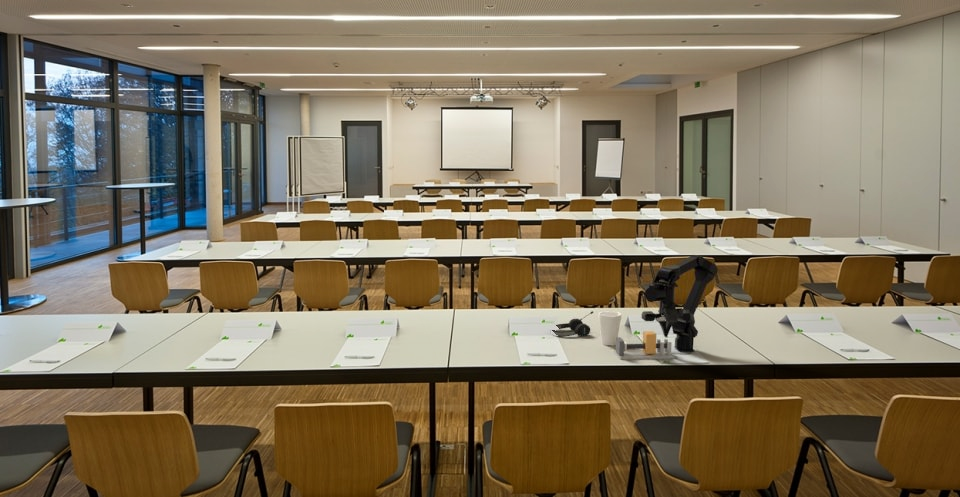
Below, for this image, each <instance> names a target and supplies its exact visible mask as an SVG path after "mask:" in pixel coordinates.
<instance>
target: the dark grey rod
mask: <svg viewBox="0 0 960 497" xmlns="http://www.w3.org/2000/svg"><path fill="white" fill-rule="evenodd" d="M667 345H668V343H664V348H667ZM656 348H660V343H657V342H656ZM642 349H645V344H643V343H627V342H626V341H624V351H627V350H642Z"/></svg>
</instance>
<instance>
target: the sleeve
mask: <svg viewBox="0 0 960 497" xmlns="http://www.w3.org/2000/svg"><path fill="white" fill-rule="evenodd" d="M656 343H657V333H656V332H655V331H653V330H643V331H642V344H645V349H641V350H642V351H643V352H644V353H645V354H656Z"/></svg>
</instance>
